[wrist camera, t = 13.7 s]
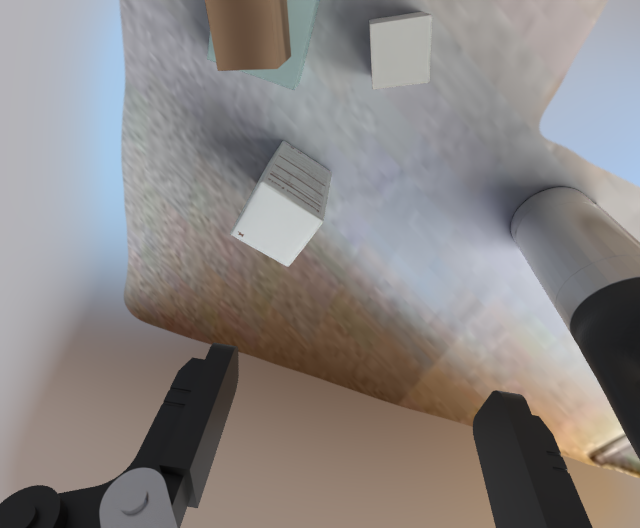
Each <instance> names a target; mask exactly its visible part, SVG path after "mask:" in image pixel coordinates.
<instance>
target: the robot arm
mask: <svg viewBox="0 0 640 528" xmlns="http://www.w3.org/2000/svg"><path fill="white" fill-rule="evenodd" d="M511 234H512V236H513V239H514V240H515V242H516V244H517V245H518V247H519V249H520V250H521V252H522V254H523V255H524V257H525V259H526V260H527V262H528V264H529V265H530V267H531V269H532V270H533V272H534V274H535V275H536V277H537V279H538V280H539V282H540V284H541V285H542V287H543V288H544V290H545V292H546V293H547V295H548V297H549V298H550V300H551V302H552V303H553V305H554V307H555V308H556V310H557V311H558V313H559V315H560V316H561V318H562V319H563V321H564V323H565V324H566V326H567V328H568V329H569V331H570V333H571V334H572V336H573V338H574V340H575V341H576V343H577V344H578V346H579V348H580V350H581V352H582V354H583V356H584V357H585V359H586V361H587V363H588V364H589V366H590V368H591V369H592V371H593V373H594V375H595V376H596V378H597V380H598V382H599V384H600V386H601V387H602V389H603V391H604V393H605V395H606V397H607V399H608V401H609V403H610V405H611V407H612V409H613V411H614V412H615V414H616V416H617V418H618V420H619V422H620V424H621V426H622V428H623V430H624V432H625V434H626V436H627V438H628V440H629V441H630V443H631V445H632V447H633V448H634V450H635V452H636V454H637V456H638V457H639V459H640V242H639V241H638V240H636V239H635V238H634V237H633V236H632V235H631V234H630V233H629V232H628V231H627V230H625V229H624V228H623V227H622V226H621V225H620V224H619V223H618V222H617V221H616V220H614V219H613V218H612V217H611V216H610V215H609V214H608V213H607V212H606V211H604V210H603V209H602V208H601V207H600V206H599V205H597V204H594V203H593V202H592V201H591V200H590V199H589V198H588V197H587V196H585V195H584V194H583V193H582V192H580V191H578V190H576V189H573V188H567V187H557V188H552V189H547V190H544V191H542V192H539V193H537V194H535V195H534V196H532V197H530V198H529V199H528V200H526V201H525V202H524V203H523V204H522V205H521V206H520V207H519V208H518V209H517V211H516V213H515V214H514V216H513V219H512V221H511ZM237 383H238V347H237V346H231V345H225V344H219V343H213V344H212V346H211V347H210V350H209V352H208V354H207V356H206V359H205V360H203V359H197V358H192V359H191V360H190V361H188V362H187V363H186V364H185V365H184V366H183V367H182V368H181V369H180V370H179V371H178V373H177V375H176V377H175V379H174V381H173V383H172V385H171V388H170V391H168V393H167V395H166V397H165V400H164V403H163V404H162V405H161V407H160V410H159V411H158V413H157V416H156V417H155V419H154V421H153V424H152V425H151V427H150V429H149V432H148V434H147V435H146V438H145V440H144V442H143V444H142V446H141V448H140V450H139V452H138V454H137V456H136V458H135V459H134V461H133V462H132V463H131V465H130V466H129V467H128V468H127V469H126V470H125V471H124V472H123V473H122V474H120V475H119V476H118V477H116V478H115V479H113V480H111V481H109V482H107V483H105V484H102V485H99V486H95V487H90V488H85V489H79V490H75V491H69V492H64V493H59V494H57V492H56V491H55V490H53V489H52V488H50V487H48V486H43V485H42V486H41V485H40V486H39V485H37V486H31V487H28V488H24V489H22V490H20V491H18V492H16V493H14V494H12V495H11V496H9V497H8V498H7V499H5V500H4V501H3V502H2V503H1V504H0V528H180V526H181V523H182V520H183V517H184V514H185V511H186V509H187V506H188V507H194V508H198V505H199V502H200V499H201V496H202V493H203V490H204V487H205V484H206V481H207V478H208V475H209V472H210V469H211V466H212V463H213V460H214V457H215V454H216V450H217V447H218V444H219V441H220V438H221V435H222V432H223V429H224V426H225V423H226V420H227V417H228V414H229V411H230V408H231V405H232V402H233V398H234V395H235V392H236V388H237ZM473 435H474V440H475V444H476V448H477V452H478V456H479V460H480V464H481V468H482V472H483V477H484V481H485V485H486V489H487V493H488V497H489V501H490V505H491V509H492V513H493V517H494V522H495V525H496V528H592V525H591V523H590V521H589V519H588V516H587V514H586V511H585V509H584V507H583V504H582V502H581V500H580V497H579V495H578V493H577V490H576V488H575V486H574V483H573V481H572V478H571V476H570V474H569V473H568V472H567V467H566V464H565V462H564V460H563V458H562V457H561V456H560V454H561V452H560V450H559V448H558V445H557V443H556V441H555V438H554V436H553V434H552V433H551V431H550V430H549V429H548V427H547V426H546V425H545V424H544V422H543V421H542V420H541V418H540V417H539V416H535V415H532V414H531V411H530V409H529V406H528V404H527V402H526V400H525V398H524V397H523V396H522V395H520V394H515V393H508V392H502V391H493V392H492V393H491V394H490V396H489V397H488V399H487V400H486V401H485V403H484V404H483V406H482V407H481V408H480V410H479V411H478V412H477V414H476V415H475V417H474V421H473Z"/></svg>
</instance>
